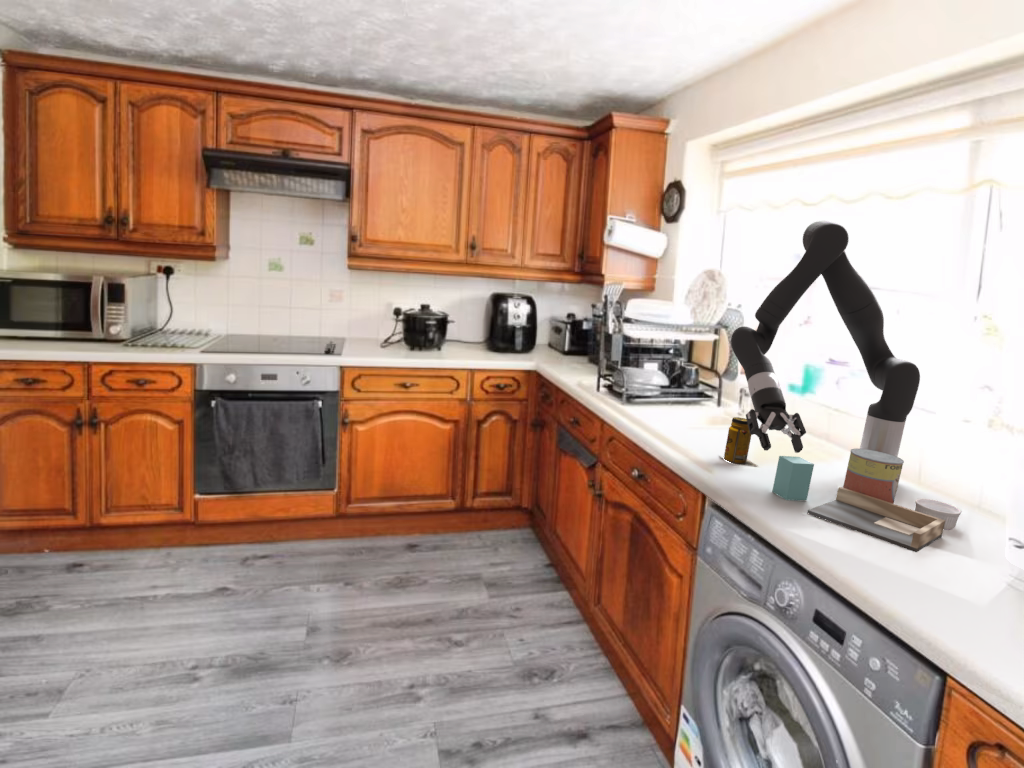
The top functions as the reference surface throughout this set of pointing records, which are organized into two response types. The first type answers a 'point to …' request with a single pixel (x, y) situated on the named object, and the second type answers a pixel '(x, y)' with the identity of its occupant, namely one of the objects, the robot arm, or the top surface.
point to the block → (793, 478)
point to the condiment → (738, 442)
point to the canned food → (873, 474)
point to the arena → (881, 519)
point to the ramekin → (939, 511)
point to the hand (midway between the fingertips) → (783, 450)
